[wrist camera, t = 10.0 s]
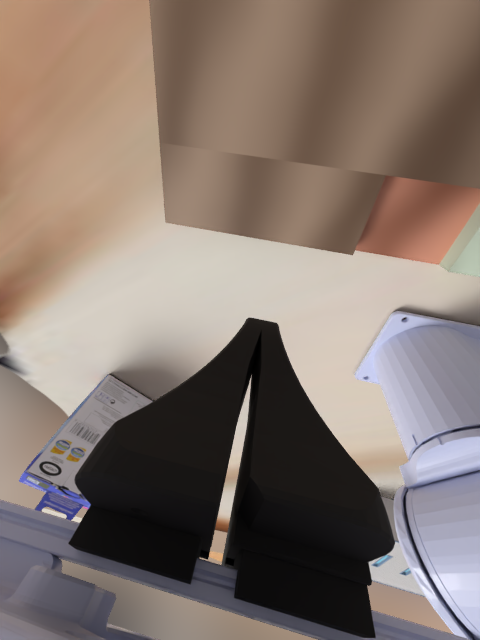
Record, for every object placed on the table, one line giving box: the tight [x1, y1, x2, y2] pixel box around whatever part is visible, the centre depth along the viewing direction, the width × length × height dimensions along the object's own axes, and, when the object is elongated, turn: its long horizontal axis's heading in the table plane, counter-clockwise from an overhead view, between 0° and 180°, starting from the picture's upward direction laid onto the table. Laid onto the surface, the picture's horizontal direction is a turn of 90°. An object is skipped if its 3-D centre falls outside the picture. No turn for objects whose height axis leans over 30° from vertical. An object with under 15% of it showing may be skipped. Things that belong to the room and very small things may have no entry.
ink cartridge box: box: [19, 375, 153, 520], centre depth 28 cm, size 10×6×14 cm, turn 49°
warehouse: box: [369, 496, 426, 597], centre depth 38 cm, size 30×14×8 cm, turn 80°
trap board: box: [149, 0, 480, 277], centre depth 11 cm, size 28×16×2 cm, turn 84°
